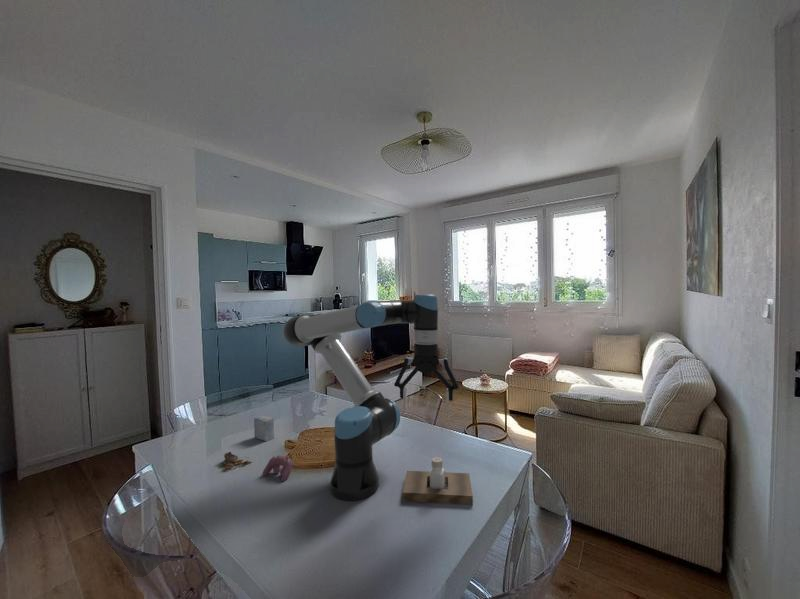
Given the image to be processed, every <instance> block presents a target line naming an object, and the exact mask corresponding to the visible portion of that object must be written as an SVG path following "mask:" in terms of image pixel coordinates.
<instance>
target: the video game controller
mask: <svg viewBox="0 0 800 599" xmlns="http://www.w3.org/2000/svg"><path fill="white" fill-rule="evenodd" d="M281 466H282V467H281ZM294 467H295V462H294V460H293V459H291V458H290V457H288V456H286V455H274V456H272V457H271V458H270V459H269V461H268V463H267V464H266V465H265V467H264V468H263V472H262V476H263V477H266V476H268V475H269V474H270V473H271V471H272V472H273V473H274V474H280V475H281V481H282V482H285V481H286V480H287V479H288V478H289V476H290V475H291V473H292V470H294Z"/></svg>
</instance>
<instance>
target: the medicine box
mask: <svg viewBox="0 0 800 599" xmlns="http://www.w3.org/2000/svg"><path fill="white" fill-rule="evenodd" d="M253 423H254V424H253V430H254V432H253V433H254V438H255V439H257V440H260V441H264V442H268V441H270V440H272V439H274V438H275V420H274V417H271V416H266V415H264V414H263V415H259V416H257V417H255V418H253Z"/></svg>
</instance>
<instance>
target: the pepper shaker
mask: <svg viewBox="0 0 800 599" xmlns="http://www.w3.org/2000/svg"><path fill="white" fill-rule="evenodd" d="M431 467H432V468H430V470H429V472H430V484H429V488H434V489H446V485H445V472H446V471H445V469H444V468H443V459H442V458H441V457H437V456H436V457H432V458H431Z"/></svg>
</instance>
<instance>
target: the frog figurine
mask: <svg viewBox="0 0 800 599" xmlns="http://www.w3.org/2000/svg"><path fill="white" fill-rule="evenodd" d="M223 458H224V460H222V461H221V463H220V464H219V466H220V465H221V466H220V467H221V468H222V469H223V471H224V470H226V472H231V471H232V469H233V468H235V470H233V471H232V472H237V471H240V470H241V469H242V468H243V467H245V468H246V467H248V466H250V465H252V464H253V459H251V458H250V459H249V457H247V456H242V457H241V458H243V459H240V457H238V455H235V454H233V453H232V452H231V451H229V452H226V453H224V457H223ZM244 458H246V459H248V460H245V461H244ZM251 463H252V464H251ZM247 465H248V466H247ZM222 466H223V467H222ZM224 466H225V467H224Z"/></svg>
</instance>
